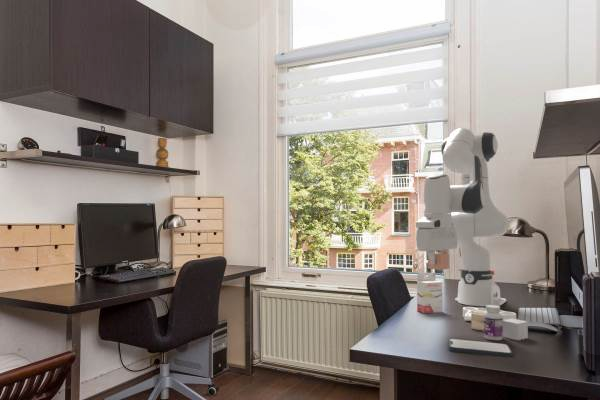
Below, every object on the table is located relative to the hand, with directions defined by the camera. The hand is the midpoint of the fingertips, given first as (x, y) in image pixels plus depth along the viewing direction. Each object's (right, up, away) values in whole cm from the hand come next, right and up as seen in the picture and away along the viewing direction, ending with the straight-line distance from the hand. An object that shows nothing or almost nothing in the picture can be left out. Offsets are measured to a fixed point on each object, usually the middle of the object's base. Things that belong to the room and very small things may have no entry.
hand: (438, 263), depth 146 cm
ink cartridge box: (+4, -22, +23) cm, 32 cm away
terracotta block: (0, -2, 0) cm, 2 cm away
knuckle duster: (+21, -22, +9) cm, 32 cm away
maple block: (+13, -21, -2) cm, 25 cm away
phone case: (+3, -21, -25) cm, 33 cm away
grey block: (+19, -21, -13) cm, 31 cm away
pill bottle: (+12, -21, -14) cm, 28 cm away
